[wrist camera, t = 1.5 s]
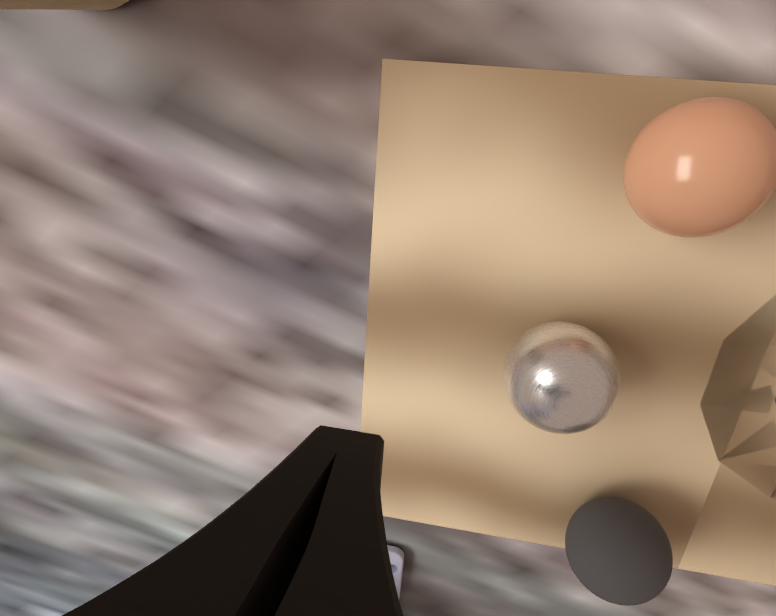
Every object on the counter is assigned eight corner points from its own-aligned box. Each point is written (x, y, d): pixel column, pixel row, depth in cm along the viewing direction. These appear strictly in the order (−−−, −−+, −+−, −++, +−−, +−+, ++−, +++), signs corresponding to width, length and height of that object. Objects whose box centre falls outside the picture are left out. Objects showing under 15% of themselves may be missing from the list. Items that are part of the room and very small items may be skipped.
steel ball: (592, 402, 16) (617, 467, 14) (493, 387, 17) (496, 447, 14) (616, 311, 15) (650, 362, 12) (509, 298, 16) (516, 344, 13)
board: (870, 552, 20) (922, 612, 17) (368, 468, 22) (355, 511, 20) (1135, 115, 13) (1270, 118, 11) (395, 64, 16) (382, 59, 14)
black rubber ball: (640, 553, 18) (671, 638, 16) (550, 537, 19) (563, 617, 16) (665, 484, 17) (703, 563, 14) (568, 469, 18) (586, 542, 15)
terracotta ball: (717, 227, 14) (782, 261, 11) (597, 215, 14) (628, 245, 11) (759, 102, 13) (844, 102, 10) (625, 92, 13) (669, 90, 10)
